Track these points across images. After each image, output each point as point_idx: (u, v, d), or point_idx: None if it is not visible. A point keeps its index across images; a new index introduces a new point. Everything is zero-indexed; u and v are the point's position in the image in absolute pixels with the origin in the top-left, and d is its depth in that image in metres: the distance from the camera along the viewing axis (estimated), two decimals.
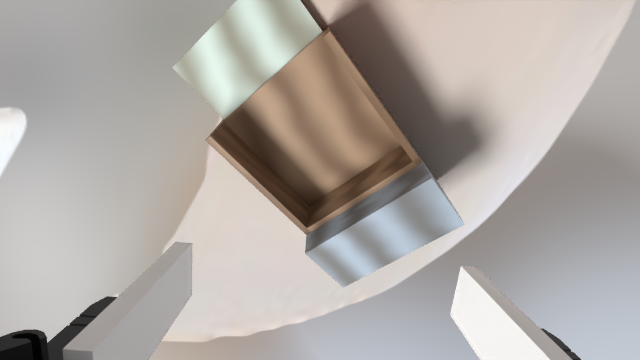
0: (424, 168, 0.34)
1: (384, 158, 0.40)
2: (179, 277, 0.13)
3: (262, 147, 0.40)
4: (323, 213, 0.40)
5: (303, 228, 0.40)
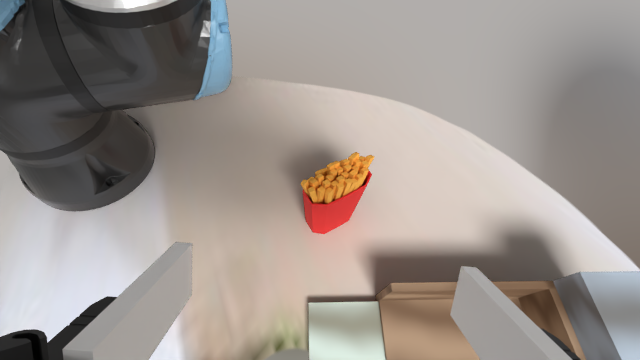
0: (562, 279, 0.31)
1: None
2: (179, 277, 0.13)
3: None
4: None
5: None
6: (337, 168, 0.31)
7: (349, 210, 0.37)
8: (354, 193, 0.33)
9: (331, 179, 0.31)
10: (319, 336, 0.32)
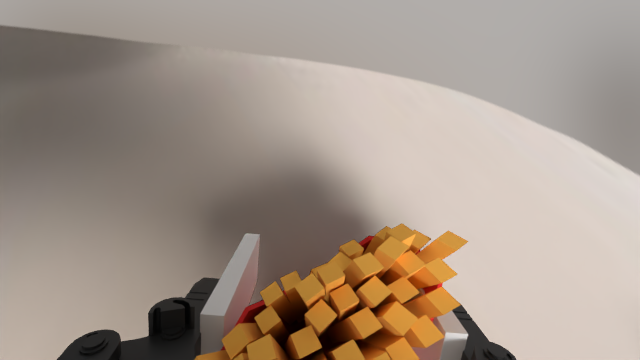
0: None
1: None
2: (254, 263, 0.15)
3: None
4: None
5: None
6: (337, 294, 0.08)
7: None
8: None
9: (312, 351, 0.08)
10: None
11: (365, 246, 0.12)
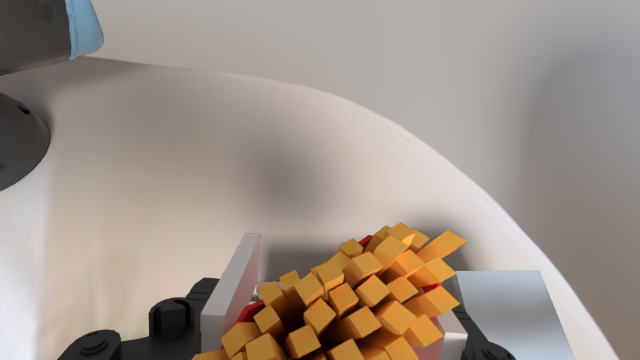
0: None
1: None
2: (254, 263, 0.15)
3: None
4: None
5: None
6: (336, 293, 0.08)
7: None
8: None
9: (311, 350, 0.08)
10: None
11: (365, 245, 0.12)
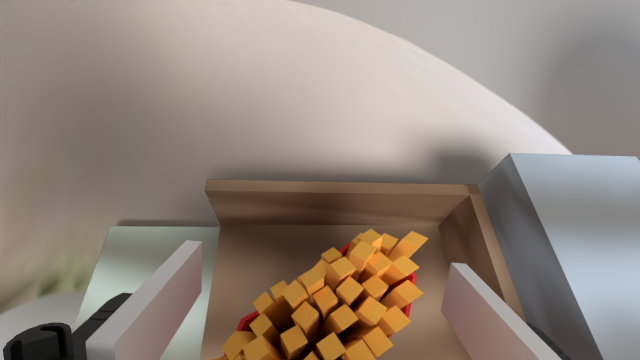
0: (488, 176, 0.19)
1: (450, 260, 0.22)
2: (190, 274, 0.13)
3: None
4: None
5: None
6: (318, 295, 0.10)
7: None
8: None
9: (300, 346, 0.09)
10: (110, 272, 0.20)
11: (346, 252, 0.14)
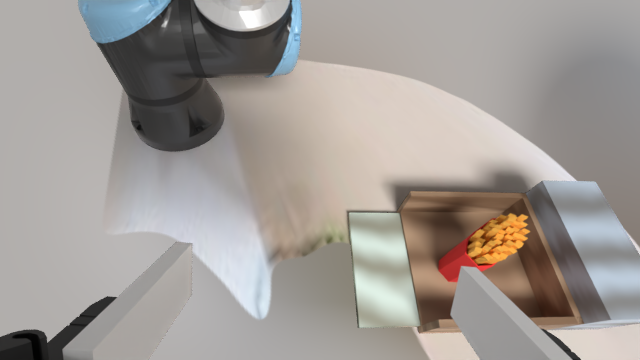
0: (531, 189, 0.44)
1: None
2: (179, 277, 0.13)
3: None
4: (558, 294, 0.38)
5: (574, 320, 0.35)
6: (500, 231, 0.34)
7: None
8: None
9: (499, 244, 0.33)
10: (358, 232, 0.45)
11: None
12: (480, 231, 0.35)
